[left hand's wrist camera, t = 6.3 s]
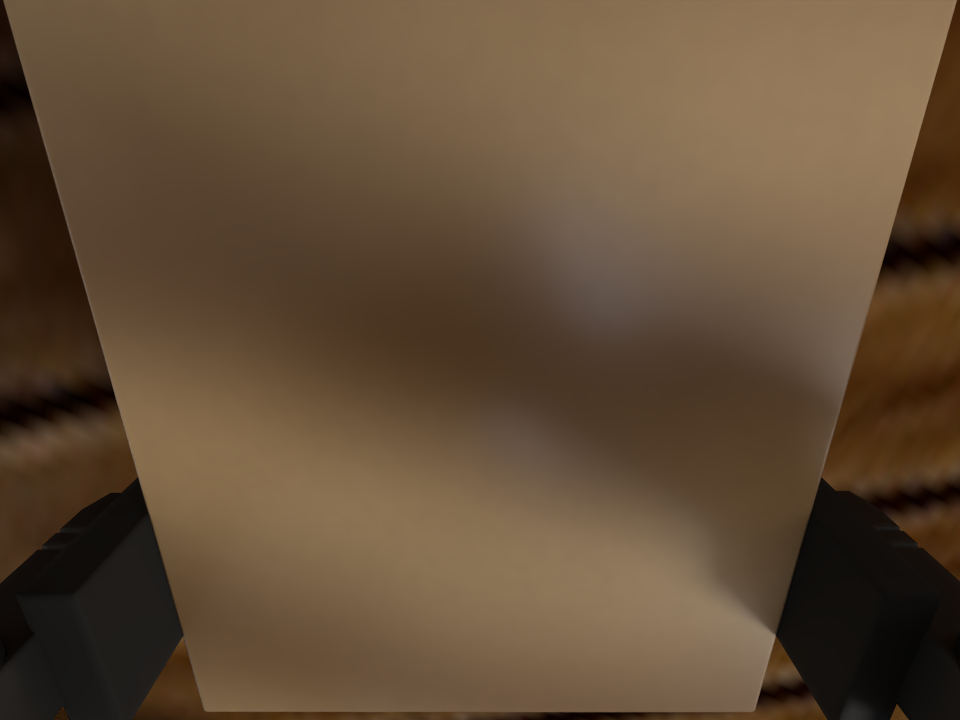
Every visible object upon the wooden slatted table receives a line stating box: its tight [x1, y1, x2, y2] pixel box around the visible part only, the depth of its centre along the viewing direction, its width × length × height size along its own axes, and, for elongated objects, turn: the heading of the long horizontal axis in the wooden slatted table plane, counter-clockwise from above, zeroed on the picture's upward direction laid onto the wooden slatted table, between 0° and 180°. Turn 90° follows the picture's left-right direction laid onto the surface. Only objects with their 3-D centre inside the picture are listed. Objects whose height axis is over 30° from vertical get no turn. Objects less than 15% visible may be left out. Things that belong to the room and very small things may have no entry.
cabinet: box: [3, 0, 957, 712], centre depth 11 cm, size 16×11×8 cm, turn 0°
